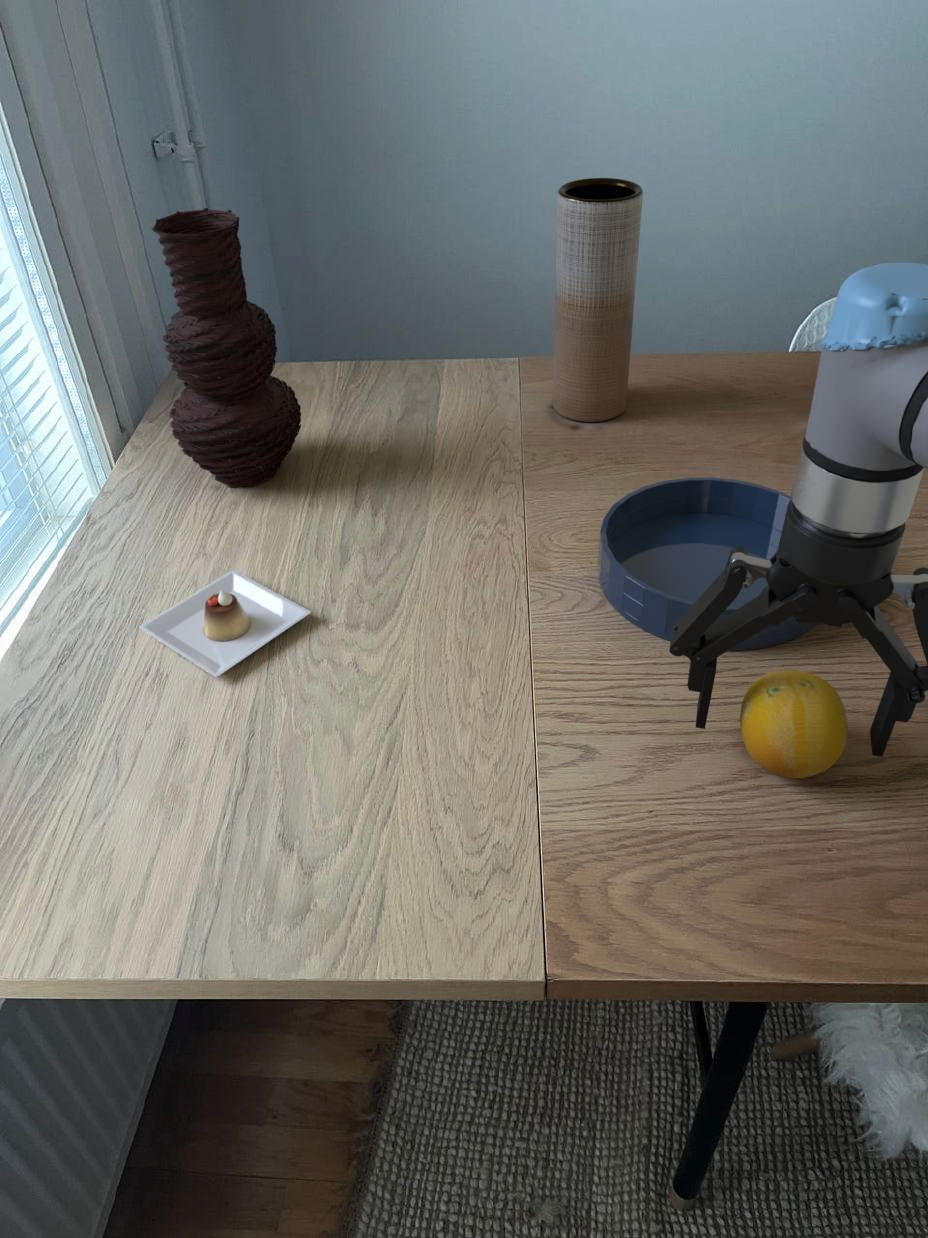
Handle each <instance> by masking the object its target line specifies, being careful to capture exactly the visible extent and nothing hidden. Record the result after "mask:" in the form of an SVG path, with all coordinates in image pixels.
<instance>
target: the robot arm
mask: <svg viewBox="0 0 928 1238" xmlns="http://www.w3.org/2000/svg"><path fill="white" fill-rule="evenodd" d="M820 347H821V351H820V352H821V353H820V358H819V362H818V368H817V373H816V379H815V384H814V389H813V394H812V395H813V396H812V401H811V405H810V411H809V415H808V420H807V425H806V427H805V430H804V435H803V439H802V445H801V447H800V453H799V457H798V461H797V465H796V470H795V474H794V478H793V482H792V486H791V491H790V496H791V500H790V502H789V504H788V507H787V511H786V515H785V520H784V524H783V529H782V533H781V538H780V542H779V547H778V550H777V552H776V553H775V555H774V556H773V557H772V558H770V560H766V559H762V558H757V557H752V556H748V552H747V549H745V548H744V547H742V546H737V547H734V548H733V549H732V550H731V552H730V555H729V558H728V561H727V564H726V567H725V570H724V571H723V572H722V573H721V574H720V575H719V576H718V577H717V579H716V580H715V581H714V582H713V583H712V584H711V585H710V586H709V588H708V589H707V590H706V591H705V592H704V593H703V594H702V595H701V596H700V598H699V599H698V600H697V601H696V602H695V603H694V604H693V605H692V607H691V608H690V609H689V610H688V611H687V612H686V613H685V614H684V616H683V617H682V618H681V619H680V620H679V621H678V622H677V623H676V625H675V626H674V627H673V628H672V634H671V641H669V653H670V654H671V655H672V656H674V657H682V656H684V657H686V658H688V659H689V661H690V663H689V669H688V675H687V684H686V685H687V686H686V687H687V689H688V691H690V692H697V693H699V695H698V699H697V707H696V717H695V729H696V728H697V729H702V730H705V729H706V725H707V721H708V715H709V711H710V710H709V709H710V704H711V700H712V694H713V689H714V685H715V679H716V674H717V667H718V666H717V665H718V664H717V663H718V658H719V657H721V656H722V655H724V654H725V653H727V652H729V651H728V650H730V649H732V648H733V647H735V646H737V645H738V644H740V643H741V642H743V641H745V640H746V639H748V638H750V637H751V636H753V635H755V634H756V633H758V632H759V631H761V630H763V629H764V628H766V627H768V626H770V625H771V626H772V627H773V626H776V625H778V624H780V623H781V622H783V621H784V620H786V619H788V618H789V617H791V616H792V617H794V618H796V622H803V623H816V622H817V623H820V624H823V625H826V626H828V627H833V628H842V626H843V625H847V624H852V625H853V627H854V629H856V631H857V632H858V634H859V635H860V636H861V638H862V639H866V640H867V643H869V644H870V646H871V647H872V648H873V650H874V651H875V652H876V654H877V655H878V657H880V659H881V661H882V662H883V663H884V665H885V666H886V667H887V668H888V670H889V671H890V672H889V676H888V678H887V681H886V684H885V687H884V690H883V692H882V694H881V695H882V696H881V698H880V701H879V704H878V707H877V710H876V712H875V715H874V717H873V720H872V723H871V725H870V729H869V735H870V744H871V754H872V756H876V757H881V758H883V757H884V754H885V752H886V748H887V746H888V743H889V741H890V738H891V735H892V733H893V730H894V728H895V725H896V722H901V723H908V722H909V721H910V720H911V719H912V716H913V714H914V711H915V709H916V706H917V704H921V703H923V702H924V701H925V700H926V693H925V692H928V567H924V566H923V567H919V568H917V569H915V570H914V572H913V573H912V574H892V570H893V568H894V564H895V561H896V558H897V555H898V552H899V549H900V546H901V542H902V540H903V537H904V533H905V530H906V521H907V520H908V519H909V518H910V515H911V512H912V509H913V506H914V502H915V500H916V497H917V493H918V490H919V486H920V483H921V480H922V477H923V473H924V470H925V469H926V470H928V264H926V263H918V262H903V261H902V262H884V263H879V264H875V265H871V266H868V267H863V268H861V269H859V270H857V271H855V272H853V273H852V274H850V275H849V276H848V277H847V278H846V279H845V280H844V282H843V283H842V284H841V285H840V288H839V290H838V293H837V296H836V300H835V303H834V305H833V309H832V313H831V316H830V320H829V323H828V326H827V329H826V333H825V335H824V337H823V338H822V340H821V344H820ZM759 578H766V580H767V583H768V584H769V585H768V586H766V587H765V588H764V589H763V590H762V591H761V593H760V594H759V595H758V596H757V597H755V598H754V599H752V600H751V601H749V602H748V603H746V604H745V605H743V606H742V607H740V608H738V609H737V610H735V611H734V612H732V613H731V614H729V615H728V616H726V617H724V618H723V619H721V620H720V621H718V622H717V623H715V624H714V625H712V624H713V623H714V621H715V620H716V619H717V618H718V617H719V616H720V615H721V614H722V613H723V612H724V611H725V610H726V609H727V607H728V606H729V605H730V604H731V603H732V602H733V601H734V600H735V599H736V597H737V596H738V594H739V593H740V591H741V588H744V589H747V588H749V587H750V585H752V584H753V583H754V582H755V580H757V579H759ZM892 595H896V596H898V597H899V598H900V603H901V604H902V605H903V606H905V607H906V608H907V609H908V610H911V611H912V616H913V621H914V626H915V628H916V633H917V635H918V638H919V642H920V645H921V648H922V652H923V655H924V658H925V661H926V665H920V663H918V661H917V660H916V658H915V657H914V656H913V655H912V653H911V651H910V650H909V649H908V647H907V646H906V644H905V643H904V642H903V640H902V639H901V638H900V637H899V635H898V634H897V632H896V631H895V630H894V628H893V626H892V625H891V624H890V623H889V621H888V620H887V618H886V617H885V616H884V615H883V613H882V612H881V610H880V608H879V605H880V604H882V603H883V602H884V601H886V600H888V599H889V598H890V597H891V596H892ZM779 601H780V602H779ZM817 623H816V624H817ZM711 625H712V626H711Z"/></svg>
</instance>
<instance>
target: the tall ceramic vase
mask: <svg viewBox="0 0 928 1238" xmlns="http://www.w3.org/2000/svg"><path fill="white" fill-rule="evenodd" d="M643 197H644V190H643V188H642V186H641V185H640V184H637V183H636V182H634V181H631V180H627V179H621V178H613V177H591V178H582V179H581V178H580V179H575V180H572V181H569V182H566V183H564V184H563V185H561V186H560V187H559V188H558V190H557V208H556V209H557V210H556V250H555V286H554V287H555V289H554V324H553V325H554V327H553V330H554V331H553V367H552V374H553V375H552V408H553V409H554V411H555V412H556V413H557V414H558V415H559V416H561V417H562V418H565V419H567V420H571V421H575V422H580V423H582V422H583V423H599V422H605V421H609V420H613V419H615V418H617V417H619V416H620V415H621V414H623V412H625V410H626V406H627V400H628V387H629V375H630V365H631V364H630V361H631V349H632V338H633V337H632V336H633V324H634V310H635V297H636V287H637V286H636V285H637V275H638V274H637V272H638V260H639V247H640V235H641V222H642V211H643Z"/></svg>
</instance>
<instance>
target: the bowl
mask: <svg viewBox="0 0 928 1238" xmlns="http://www.w3.org/2000/svg"><path fill="white" fill-rule="evenodd" d="M790 500H791V495H788V494H786V493H785V492H782V491H780V490H777V489H775V488H774V489H773V488H771V487H767V486H765V485H762V484H758V483H753V482H748V481H744V480H739V479H733V478H732V479H731V478H724V477H723V478H722V477H712V476H711V477H708V476H706V477H705V476H703V477H683V478H682V477H681V478H675V479H669V480H662V481H658V482H655V483H652V484H648V485H644V486H642V487H640V488H638V489H635V490H633V491H631V492H629V493H627V494H626V495H624V496H623V497H621V498H620V499H618V501H617V502H615V503H613V505H612V506H611V507H610V508H609V510H608V511H607V512H606V514H605V515H604V517H603V519H602V523H601V527H600V529H599V530H600V531H599V542H598V557H597V559H598V560H597V568H598V569H597V575H598V583H599V586H600V589H601V591H602V593H603V595H604V596H605V599H606V600H607V601H608V602H609V604H610V605H611V607H612V608H613V609H614V610H615V611H617V612H618V613H619V614H620V616H621V617H623V618H624V619H625V620H627V621H628V622H630V623H631V624H632V625H634V626H636V627H638V628H639V629H641V630H643V631H644V632H647V633H649V634H651V635H653V636H655V637H658V638H660V639H663V640H665V641H669V642H671V634H672V628H673V627H674V626H675V625H676V623H677V622H678V621H679V620H680V619H681V618H682V617H683V616H684V614H685V613H686V612H687V611H688V610H689V609H690V608H691V607H692V605H693V604H694V603H695V602H696V601H697V600H698V599H699V598H700V596H701V595H702V594H703V593H704V592H705V591H706V590H707V589H708V588H709V586H710V585H711V584H712V583H713V582H714V581H715V580H716V579H717V577H718V576H719V575H720V574H721V573H722V572H723V571H724V570H725V567H726V564H727V561H728V558H729V555H730V552H731V550H732V549H733V548H734V547H737V546H742V547H744V548H745V549H747V552H748V556H752V557H757V558H762V559H766V560H770V558H772V557H773V556H774V555H775V553H776V552H777V550H778V547H779V542H780V538H781V533H782V529H783V524H784V520H785V515H786V511H787V507H788V504H789V502H790ZM768 585H769V584H768V583H767V580H766V578H759V579H757V580H755V582H754V583H753V584H752V585H750V587H749V588H747V589H744V588H741V591H740V593H739V594H738V596H737V597H736V599H735V600H734V601H733V602H732V603H731V604H730V605H729V606H728V607H727V609H726V610H725V611H724V612H723V613H722V614H721V615H720V616H719V617H718V618H717V619H716V620H715V621H714V623H713V624H712V625H714V624H715V623H717V622H718V621H720V620H721V619H723V618H724V617H726V616H728V615H729V614H731V613H732V612H734V611H735V610H737V609H738V608H740V607H742V606H743V605H745V604H746V603H748V602H749V601H751V600H752V599H754V598H755V597H757V596H758V595H759V594H760V593H761V591H762V590H763V589H764V588H765V587H766V586H768ZM779 602H780V601H779ZM817 624H818V622H816V623H803V622H796V618H794V617H792V616H791V617H789V618H788V619H786V620H784V621H783V622H781V623H780V624H778V625H776V626H773V627H772V626H771V625H770V626H768V627H766V628H764V629H763V630H761V631H759V632H758V633H756V634H755V635H753V636H751V637H750V638H748V639H746V640H745V641H743V642H741V643H740V644H738V645H737V646H735V647H733V648H732V649H730V650H728V651H727V652H739V651H740V652H741V651H742V652H743V651H753V650H760V649H766V648H770V647H774V646H779V645H781V644H784V643H787V642H789V641H792V640H795V639H797V638H798V637H800V636H802V635H804V634H805V633H807V632H808V631H809V630H811V629H812V628H813V627H814V626H816V625H817ZM712 625H711V626H712Z"/></svg>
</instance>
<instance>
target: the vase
mask: <svg viewBox="0 0 928 1238" xmlns="http://www.w3.org/2000/svg"><path fill="white" fill-rule="evenodd" d="M239 228H240V217H239V216H237V215H236V214H235V213H233V212H232V210H231V209H228V210H227V209H226V210H217V209H209V208H208V207H205V208H204V207H203V209H198V210H197V209H196V210H187V211H179V210H178V211H176V212H175V213H173V214H170V215H167V216H163V217H162V218H159V219H158V218H155V223H154V225H153V227H151V230H152V231H153V232H154V233H156V234H158V235H159V239H157V240H158V243H159V244H160V245H161V246H162V247H163V248H162V251H161V252H162V255H163V256H164V257H165V260H164V261H163V263H164V264H165V265H166V266H167V268H169V269H170V271H169V276H170V278H172V281H171V282H170V284H171V286H172V287H173V289H175V292H174V293H173V298H175V299H176V301H177V302H176V306H177V307H179V310H178V311H177V312H176V313H173V314H172V315H171V316H170V323H167V325H165V327H164V330H165V331H166V332H165V334H164V335H163V336H162V338H161V339H162V341H163V342H165V343H166V344H165V346H164V350H165V351H166V352H167V353H168V354H167V356H166V359H167V361H169V362H171V363H172V365H171V366H170V367H171V370H173V371H174V372H176V373H177V374H176V377H177V379H179V380H181V381H183V384H182V385H183V387H184V388H183V389H182V390H181V392H180V396H178V398H177V399H174V400H173V403H172V408H171V409H170V411H169V412H168V413H169V417H170V418H171V419H172V421H171V422H169V424H170V427H171V432H172V433H171V435H172V437H174V439H176V440H178V441H177V445H178V446H179V447H180V448H181V451H182V452H183V454H184V455H185V456H187V457H189V458H191V459H192V462H194V463H195V464H198V465H199V466H198V467H199V468H201V469H202V470H204V471H208V472H209V473H210V474H211V475H214V480H215V481H216V482H219V483H222V484H224V485H225V486H228V488H240V487H255V486H257V485H260V484H261V483H263V482H266V481H269V480H270V479H271V480H272V479H274V478H275V476H276V474H277V472H278V470H279V468H281V465H282V463H284V461H285V459H286V457H288V454H289V453H290V452H291V450H292V449H293V447H294V443H295V442H296V438H297V437H298V435H299V434H300V430H301V427H302V424H301V422H302V418H301V417H302V411H301V410H302V406H301V405H300V404H299V400H298V398H297V397H296V392H295V390H294V389H293V388H292V387H291V386H290V385H289V384H288V383H287V382H286V381H284V380H282V379H280V378H278V377H276V376H272V373H273V371H274V369H275V366H276V357H277V352H278V347H277V340H276V334H277V330H276V326H275V324H274V323H273V322H272V320H271V318H270V317H269V314H268V313H267V312H266V311H265V309H264V308H262V307H261V306H259V305H258V304H256V303H253V302H251V301H249V300H248V295H247V290H246V289H247V288H246V287H247V286H246V284H247V283H246V279H245V277H244V274H243V259H242V256H241V253H242V245H241V243H240V238H239V236H238V233H239Z"/></svg>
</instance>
